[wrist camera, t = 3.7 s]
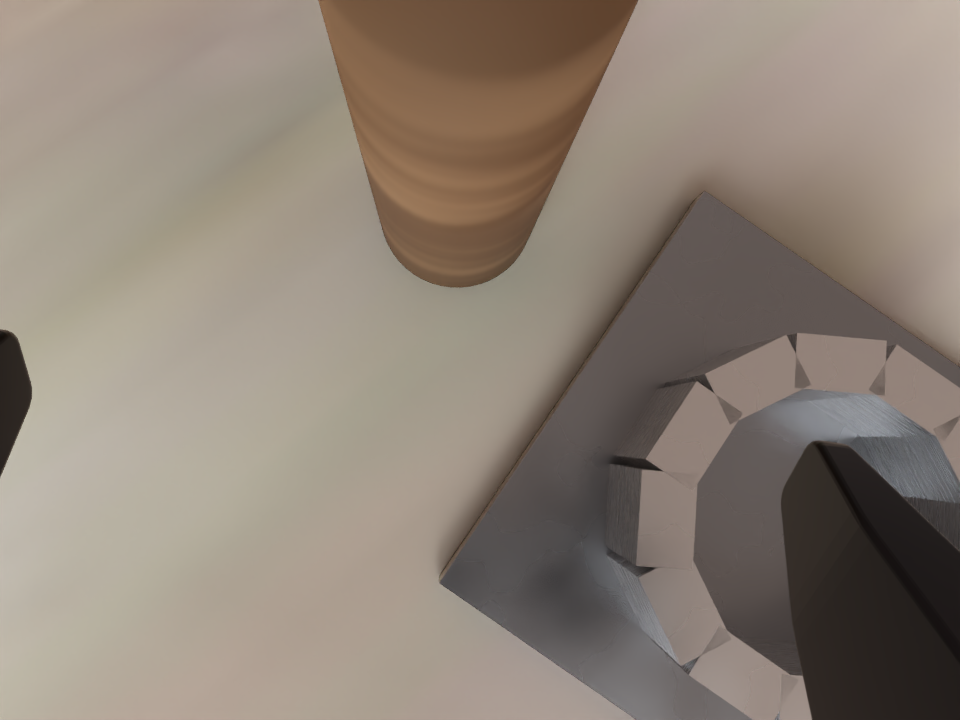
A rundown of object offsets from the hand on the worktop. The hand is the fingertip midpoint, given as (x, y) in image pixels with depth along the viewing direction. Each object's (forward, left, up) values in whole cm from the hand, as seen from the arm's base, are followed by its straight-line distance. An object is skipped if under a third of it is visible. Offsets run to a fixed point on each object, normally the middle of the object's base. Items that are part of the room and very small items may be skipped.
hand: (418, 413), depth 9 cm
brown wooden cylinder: (+5, +3, -12) cm, 13 cm away
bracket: (+3, -8, -12) cm, 15 cm away
